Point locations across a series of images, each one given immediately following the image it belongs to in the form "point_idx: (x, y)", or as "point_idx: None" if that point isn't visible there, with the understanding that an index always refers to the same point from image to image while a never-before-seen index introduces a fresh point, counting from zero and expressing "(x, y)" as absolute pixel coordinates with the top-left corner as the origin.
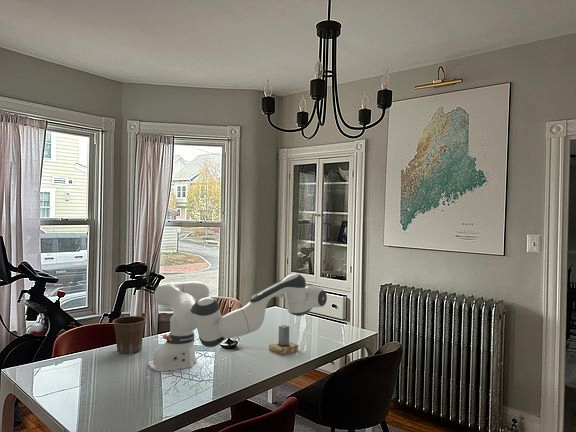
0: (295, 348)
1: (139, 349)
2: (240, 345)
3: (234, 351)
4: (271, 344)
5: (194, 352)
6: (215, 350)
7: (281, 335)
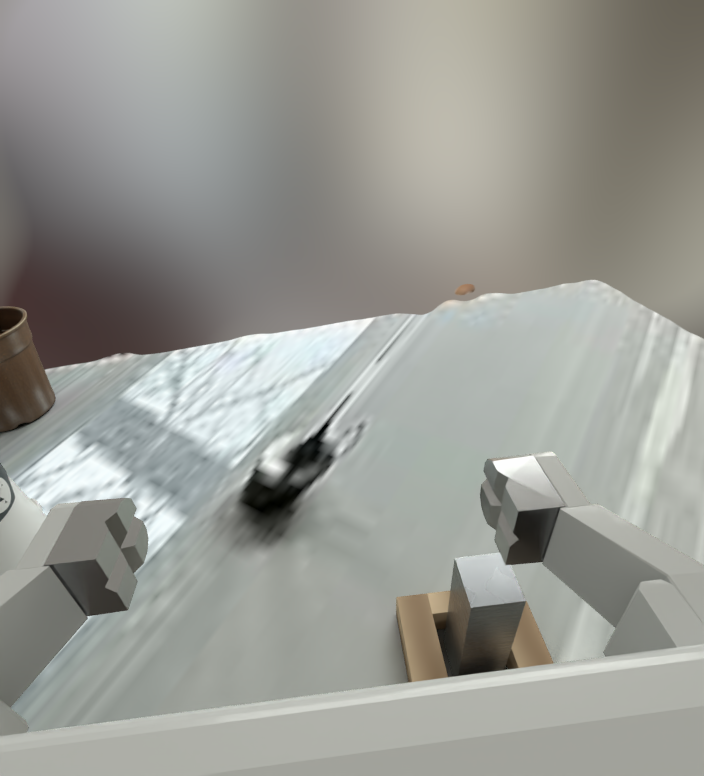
0: None
1: (18, 422)
2: (315, 500)
3: (247, 552)
4: (409, 602)
5: (7, 563)
6: (196, 509)
7: (459, 618)
